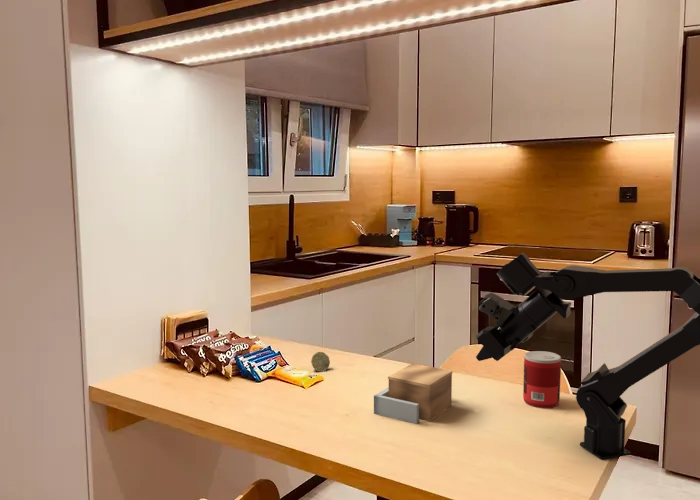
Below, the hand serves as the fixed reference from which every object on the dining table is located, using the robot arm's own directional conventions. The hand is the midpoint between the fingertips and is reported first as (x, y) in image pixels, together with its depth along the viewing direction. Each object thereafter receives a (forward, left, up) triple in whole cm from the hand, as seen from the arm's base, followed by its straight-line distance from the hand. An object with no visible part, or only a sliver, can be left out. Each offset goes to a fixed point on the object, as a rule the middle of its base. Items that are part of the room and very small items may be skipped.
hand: (477, 358), depth 126 cm
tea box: (+9, -10, -14) cm, 19 cm away
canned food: (-19, -6, -14) cm, 24 cm away
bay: (+10, -12, -14) cm, 20 cm away
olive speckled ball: (+24, -44, -14) cm, 51 cm away
